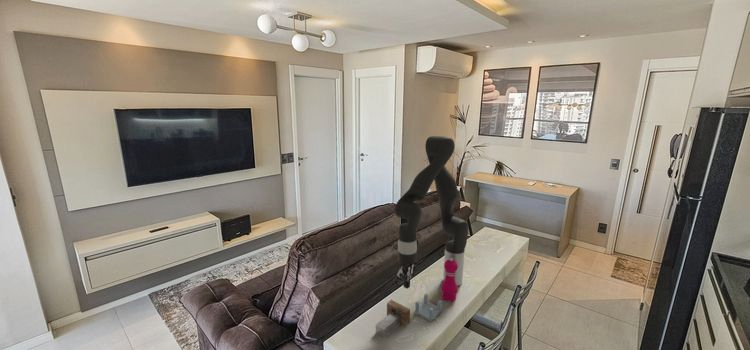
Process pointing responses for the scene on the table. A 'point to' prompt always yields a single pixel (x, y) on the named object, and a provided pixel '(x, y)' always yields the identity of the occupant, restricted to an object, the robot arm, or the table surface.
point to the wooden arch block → (404, 311)
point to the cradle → (428, 309)
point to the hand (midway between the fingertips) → (406, 287)
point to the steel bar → (388, 323)
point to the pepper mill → (449, 280)
